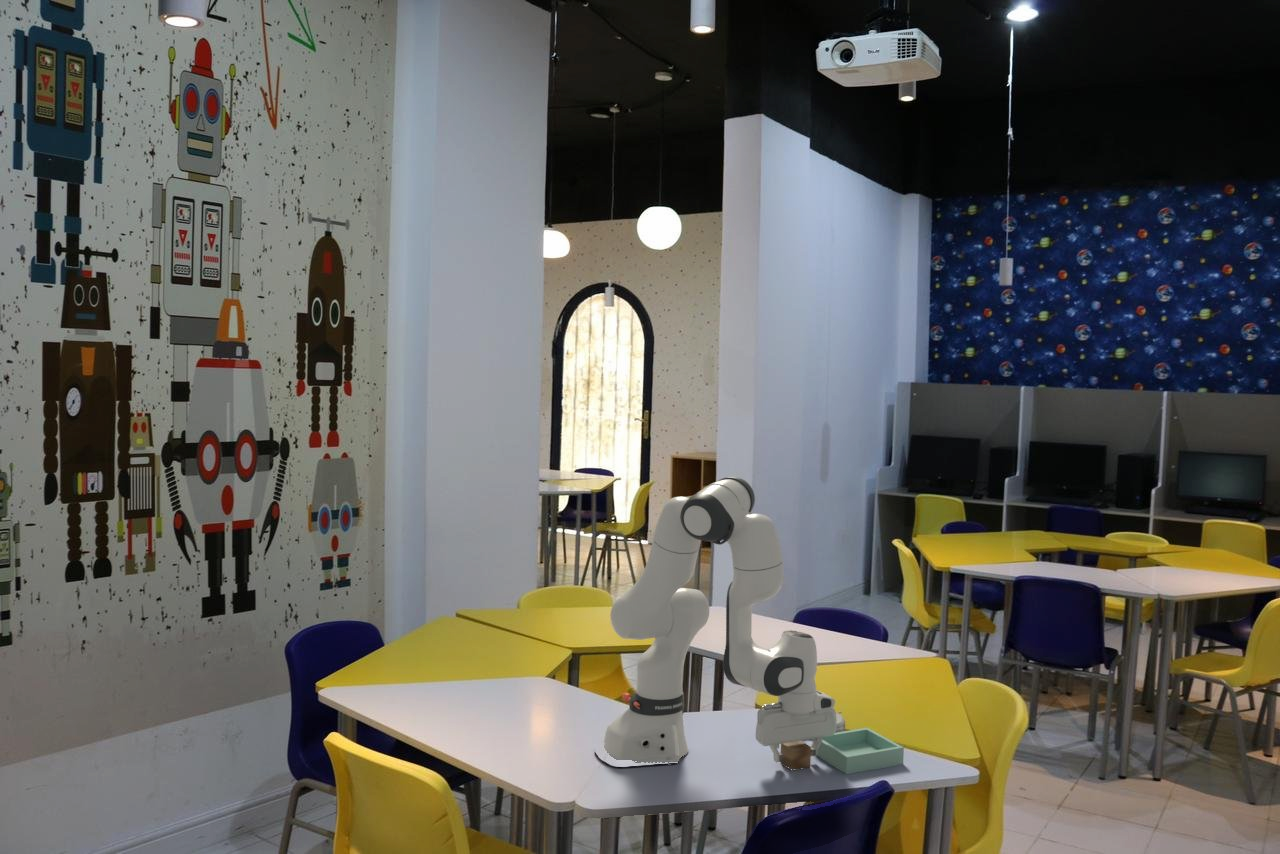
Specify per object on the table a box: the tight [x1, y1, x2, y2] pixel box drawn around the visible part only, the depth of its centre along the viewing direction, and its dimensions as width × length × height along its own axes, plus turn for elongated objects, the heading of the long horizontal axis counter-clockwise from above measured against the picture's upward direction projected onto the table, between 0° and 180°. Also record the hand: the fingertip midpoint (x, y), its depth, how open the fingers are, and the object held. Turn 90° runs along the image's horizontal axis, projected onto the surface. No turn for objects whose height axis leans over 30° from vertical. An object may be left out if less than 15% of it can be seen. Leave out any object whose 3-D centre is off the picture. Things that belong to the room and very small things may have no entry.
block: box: [780, 740, 811, 771], centre depth 237 cm, size 5×5×5 cm
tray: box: [812, 727, 905, 775], centre depth 241 cm, size 16×14×4 cm
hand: (795, 758), depth 237 cm, fingers open, 8 cm apart
